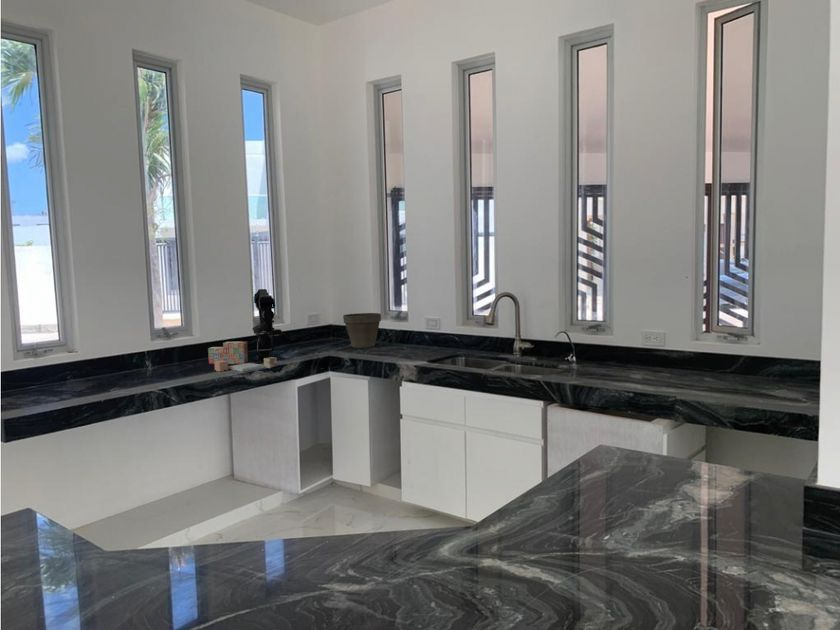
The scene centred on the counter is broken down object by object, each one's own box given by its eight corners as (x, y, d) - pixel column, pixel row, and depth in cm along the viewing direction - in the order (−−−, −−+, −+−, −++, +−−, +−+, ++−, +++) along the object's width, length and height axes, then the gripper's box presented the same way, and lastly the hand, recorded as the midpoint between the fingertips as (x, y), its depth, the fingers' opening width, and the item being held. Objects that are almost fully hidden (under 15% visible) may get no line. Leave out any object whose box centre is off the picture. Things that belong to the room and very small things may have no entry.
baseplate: (249, 365, 375) (249, 362, 375) (264, 367, 366) (264, 365, 366) (227, 369, 365) (227, 366, 364) (242, 371, 355) (242, 368, 355)
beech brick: (271, 366, 372) (271, 357, 372) (277, 366, 369) (276, 357, 368) (264, 367, 368) (263, 358, 368) (269, 368, 365) (269, 359, 365)
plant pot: (344, 345, 450) (343, 313, 448) (381, 343, 453) (379, 311, 451) (344, 350, 425) (343, 316, 423) (383, 348, 428) (381, 315, 426)
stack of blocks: (208, 364, 384) (207, 343, 383) (212, 362, 391) (211, 341, 389) (244, 363, 383) (243, 342, 381) (248, 362, 389) (247, 341, 388)
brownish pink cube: (223, 369, 365) (222, 360, 364) (228, 370, 362) (227, 361, 361) (214, 370, 361) (214, 361, 361) (220, 371, 358) (219, 362, 357)
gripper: (244, 319, 366) (246, 347, 368) (264, 321, 354) (266, 350, 355) (261, 317, 375) (263, 345, 376) (281, 319, 362) (283, 347, 363)
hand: (268, 347), depth 367 cm, fingers open, 9 cm apart
